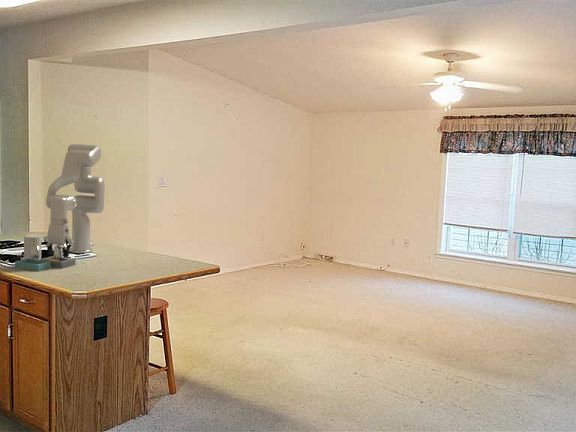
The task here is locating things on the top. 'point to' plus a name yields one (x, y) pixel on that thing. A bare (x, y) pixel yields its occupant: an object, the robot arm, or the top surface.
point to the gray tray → (60, 262)
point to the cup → (31, 244)
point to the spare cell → (35, 252)
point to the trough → (33, 264)
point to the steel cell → (58, 252)
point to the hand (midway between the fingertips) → (57, 255)
